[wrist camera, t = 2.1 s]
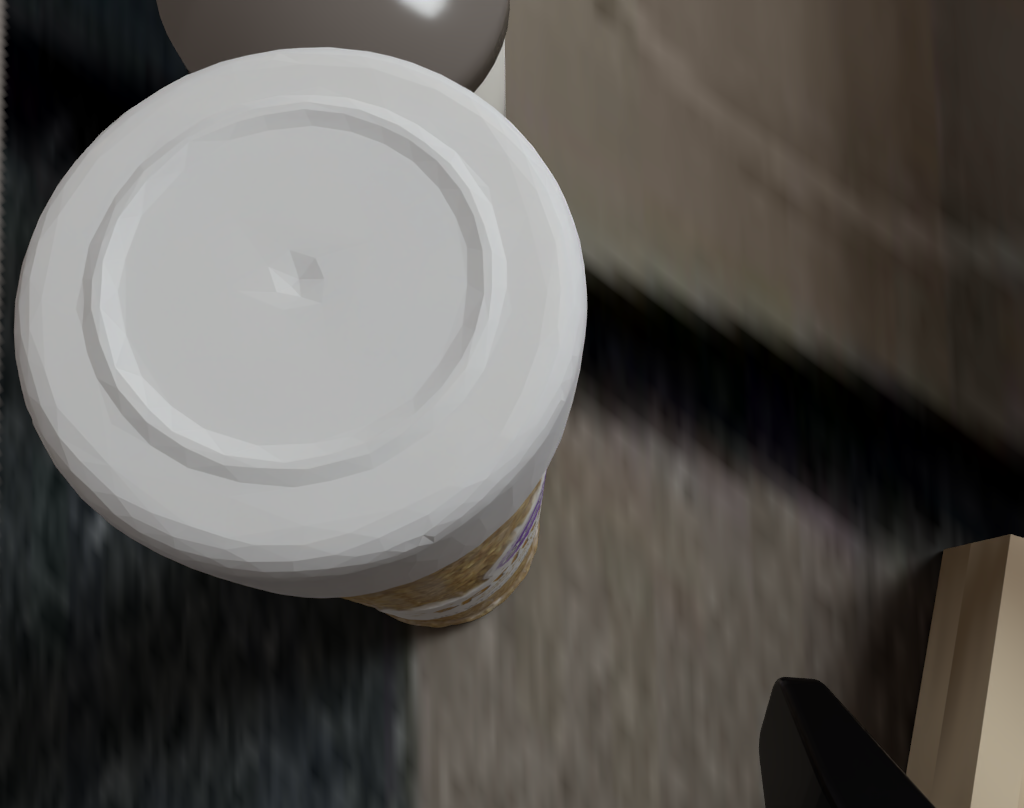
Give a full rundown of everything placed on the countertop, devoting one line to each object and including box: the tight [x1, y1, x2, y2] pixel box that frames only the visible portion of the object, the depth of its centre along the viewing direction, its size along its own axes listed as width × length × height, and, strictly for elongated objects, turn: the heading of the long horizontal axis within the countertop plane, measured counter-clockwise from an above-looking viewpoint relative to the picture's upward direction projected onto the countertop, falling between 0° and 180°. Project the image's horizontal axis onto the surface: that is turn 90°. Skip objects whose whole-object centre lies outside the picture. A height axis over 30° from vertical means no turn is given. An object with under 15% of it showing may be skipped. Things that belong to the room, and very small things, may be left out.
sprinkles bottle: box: [14, 47, 587, 628], centre depth 13 cm, size 5×5×14 cm
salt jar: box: [156, 0, 510, 118], centre depth 19 cm, size 6×6×7 cm
